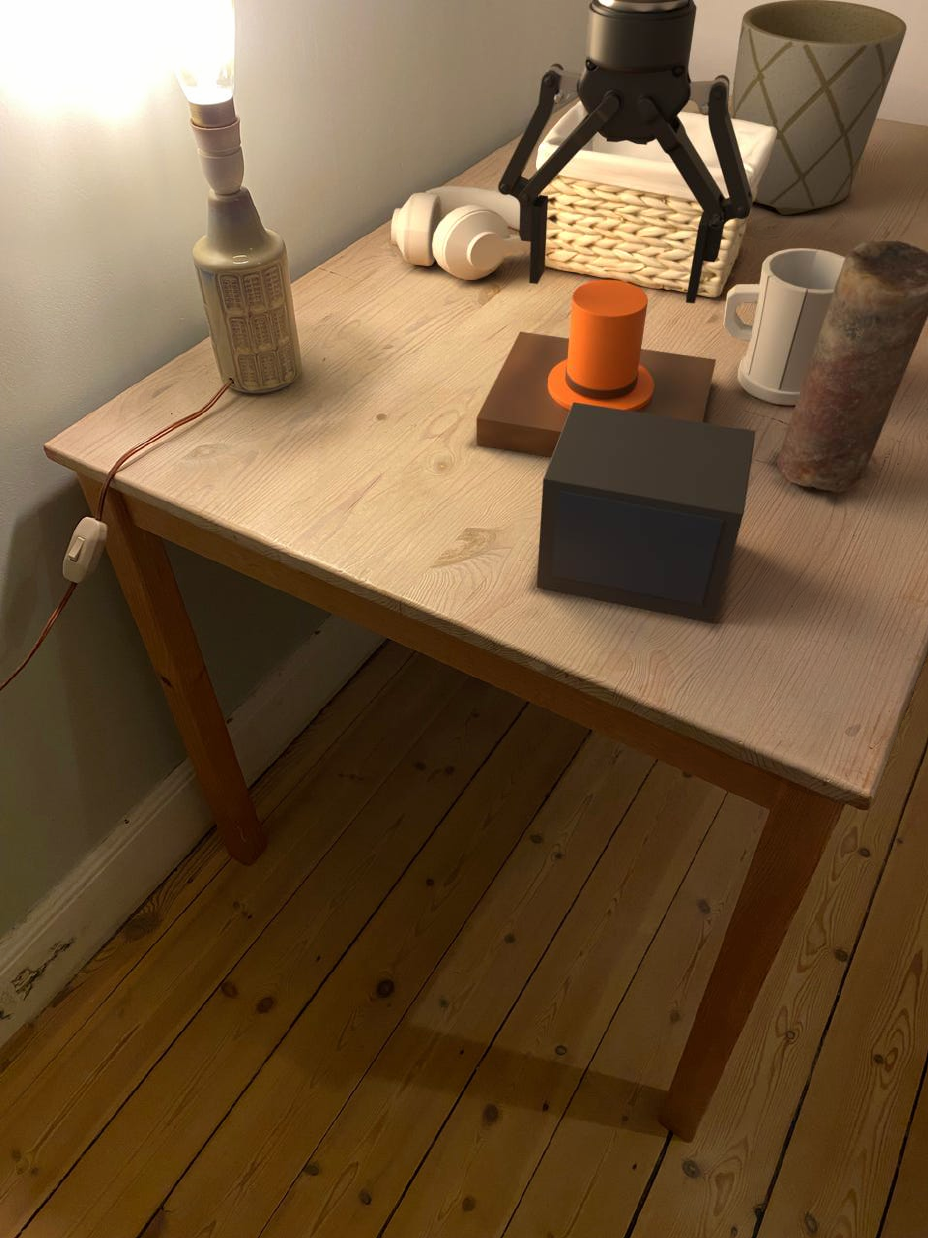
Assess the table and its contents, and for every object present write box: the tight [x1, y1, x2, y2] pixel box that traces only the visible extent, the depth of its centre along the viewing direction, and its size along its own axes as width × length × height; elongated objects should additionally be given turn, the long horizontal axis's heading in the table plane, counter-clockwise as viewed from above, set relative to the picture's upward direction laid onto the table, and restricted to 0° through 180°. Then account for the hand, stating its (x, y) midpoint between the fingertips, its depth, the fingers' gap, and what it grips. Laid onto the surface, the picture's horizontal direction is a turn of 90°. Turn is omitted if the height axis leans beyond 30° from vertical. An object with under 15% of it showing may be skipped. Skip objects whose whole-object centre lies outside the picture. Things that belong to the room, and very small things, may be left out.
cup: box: [722, 247, 846, 407], centre depth 88 cm, size 10×9×12 cm
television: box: [536, 402, 757, 624], centre depth 71 cm, size 14×10×11 cm
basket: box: [535, 100, 777, 298], centre depth 105 cm, size 24×16×15 cm
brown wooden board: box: [475, 331, 717, 458], centre depth 88 cm, size 20×16×3 cm
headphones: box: [390, 185, 531, 281], centre depth 111 cm, size 18×8×20 cm
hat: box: [548, 279, 654, 412], centre depth 84 cm, size 10×10×9 cm
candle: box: [776, 240, 928, 493], centre depth 75 cm, size 8×7×20 cm
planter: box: [729, 0, 907, 216], centre depth 117 cm, size 19×19×20 cm
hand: (613, 286), depth 79 cm, fingers open, 13 cm apart
